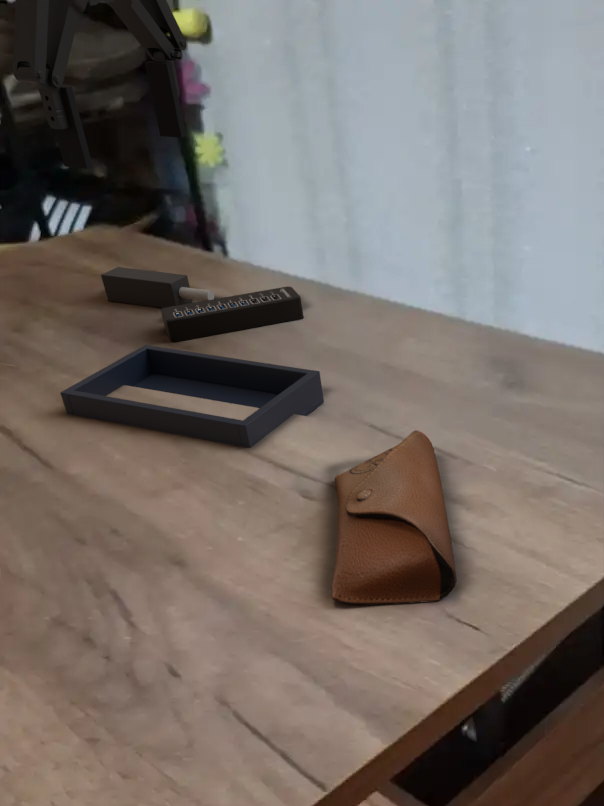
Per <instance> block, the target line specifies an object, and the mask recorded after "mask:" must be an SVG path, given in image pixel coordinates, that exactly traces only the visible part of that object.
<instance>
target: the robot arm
mask: <svg viewBox="0 0 604 806" xmlns="http://www.w3.org/2000/svg"><path fill="white" fill-rule="evenodd" d="M98 4H105V5H108V6H109V7H110V8H111V9H112V10H113V11H114V13H115V14H116V16H117V17H118V18H119V19H120V21H122V23H123V24H124V26H125V27H126V28H127V29H128V31H129V32H130V33H131V34H132V36H133V37H134V38H135V40H136V41H137V42H138V44H139V45H140V46H141V47H142V49H143V50H144V51H145V53H146V54H147V56H148V57H149V58H150V59H151V60H153V61H146V62H144V67H145V71H146V76H147V80H148V85H149V90H150V94H151V99H152V103H153V104H152V105H153V108H154V112H155V113H154V114H155V117H156V122H157V129H158V132H159V136H160V137H166V138H179V139H183V138H185V137H187V134H186V129H185V124H184V118H183V114H182V109H181V104H180V93H181V92H180V85H179V81H178V76H177V71H176V65H175V62H181V61H182V60H183V51H185V50H186V48H187V41H186V38H185V36H184V34H183V32H182V30H181V28H180V26H179V24H178V22H177V20H176V17H175V16H174V15H175V14H173V11H172V10H171V7H170V4H169V3H168V1H167V0H15V4H14V5H15V6H14V7H15V8H14V31H13V32H14V33H13V36H14V37H13V61H12V75H13V77H14V79H15V80H16V81H18V82H24V83H26V84H27V85H28V86H30V87H35V88H37V90H38V93H39V96H40V100H41V104H42V106H43V110H44V114H45V118H46V121H47V124H48V126H49V127H50V129H52V130H53V129H54V133H55V137H56V141H57V144H58V147H59V151H60V155H61V159H62V164H63V167H65V168H75V169H86V170H88V169H91V168H93V167H94V166H93V162H92V158H91V155H90V154H91V153H90V151H89V146H88V143H87V139H86V135H85V130H84V128H83V124H82V119H81V116H80V112H79V108H78V105H77V100H76V95H75V93H74V89H73V85H63V84H64V81H65V77H66V71H67V67H68V64H69V60H70V55H71V51H72V47H73V42H74V39H75V34H76V31H77V26H78V22H79V19H80V15H81V14H82V13H84V12H85V10H86V7H92V6H97V5H98ZM168 34H169V35H168Z"/></svg>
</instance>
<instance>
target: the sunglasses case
mask: <svg viewBox="0 0 604 806" xmlns="http://www.w3.org/2000/svg"><path fill="white" fill-rule="evenodd" d="M436 455H437V454H436V453H435V448H434V446H433V443H432V441H431V440H430V438H429V437H428V436H427V435H426V434H425V433H423V432H422V431H420V430H416V429H415V430H413V431H412V432H410V434H408V435H407V436H406V437H405V438H404V439H402V441H401V442H399V443H398V444H397V445H395V446H393V447H390V448H388V449H387V450H385V451H383V452H381V453H379V454H377V455H375V456H372V457H371V458H368V459H367V460H365V461H363V462H361V463H359V464H358V465H355V466H353V467H351V468H349V469H347V470H345V471H343V472H342V473H338V474H336V476H335V477H334V484H335V490H336V498H337V499H336V500H337V524H336V527H337V533H336V552H335V553H336V554H335V561H334V562H335V563H334V570H333V575H332V585H331V598H332V600H334V601H336V602H338V603H341V604H345V605H373V606H376V605H377V606H378V605H379V606H380V605H381V606H383V605H382V604H388V605H396V604H395V603H405V604H410V603H409V602H420V603H422V602H421V601H431V602H439V601H441V600H443V599H444V598H446V597H448V596H449V595H450V594H451V593H452V591H453V590H454V588H455V587H456V585H457V574H456V564H455V557H454V550H453V543H452V538H451V529H450V525H449V519H448V513H447V508H446V501H445V496H444V491H443V484H442V479H441V474H440V468H439V464H438V460H437V456H436Z"/></svg>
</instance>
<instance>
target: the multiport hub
mask: <svg viewBox="0 0 604 806" xmlns="http://www.w3.org/2000/svg"><path fill="white" fill-rule="evenodd" d="M160 314H161V319H162V322H163V326H164V330H165V332H166V334H167V337H168V338H169V340H170V342H172V343H178V342H183V341H188V340H193V339H194V340H195V339H199V338H205V337H209V336H215V335H222V334H226V333H232V332H237V331H243V330H248V329H255V328H259V327H264V326H271V325H275V324H276V325H277V324H281V323H285V322H292V321H298V320H302V319H304V309H303V304H302V297H301V295H300V294H299V293H298V292H297V291H296V290H295V289H294V288H293V287H292V286H282V287H277V288H270V289H264V290H258V291H253V292H247V293H242V294H241V293H240V294H236V295H230V296H224V297H218V298H214V299H212V300H206V301H200V300H199V301H196V302H195V301H194V302H191V303H189V304H183V305H177V306H171V307H166V308H160Z"/></svg>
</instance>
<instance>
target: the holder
mask: <svg viewBox="0 0 604 806" xmlns="http://www.w3.org/2000/svg"><path fill="white" fill-rule="evenodd" d="M322 385H323V384H322V377H321V372H320V370H314V369H306V368H301V367H293V366H287V365H281V364H273V363H266V362H260V361H255V360H248V359H240V358H234V357H227V356H222V355H214V354H208V353H201V352H195V351H188V350H181V349H175V348H169V347H162V346H155V345H151V344H144V345H142V346H141V347H139V348H137V349H135V350H133V351H131V352H130V353H128V354H126V355H124V356H123V357H121V358H119V359H117V360H116V361H114V362H112V363H111V364H108V365H106V366H105V367H103V368H101V369H99V370H98V371H96V372H94V373H92V374H91V375H89V376H87V377H86V378H83V379H82V380H80V381H78V382H76V383H75V384H72V385H71V386H69V387H68V388H66V389H64V390H62V391H60V392H59V393H60V396H61V399H62V402H63V403H62V404H63V406H64V409H65V412H66V414H67V415H74V416H78V417H83V418H88V419H93V420H100V421H105V422H110V423H114V424H115V423H116V424H120V425H125V426H130V427H131V426H132V427H135V428H136V427H137V428H143V429H147V430H151V431H157V432H164V433H168V434H174V435H179V436H185V437H189V438H194V439H200V440H204V441H205V440H206V441H211V442H217V443H221V444H226V445H233V446H236V447H242V448H248V449H251V448H252V447H253V446H255V445H256V444H258V443H260V441H262V440H263V439H264V438H265V437H267V436H268V435H269V434H270V433H272V432H273V431H274V430H276V429H277V428H278V427H279V426H281V425H282V424H283V423H285V422H286V421H288V419H290V418H291V417H292V416H294V415H296V416H297V415H298V416H303V417H307V416H308V415H310V414H311V413H312V412H313V411H315V410H316V409H317V408H319V407H320V406H321V405H322V404H324V403H325V399H324V393H323V386H322ZM123 386H128V387H133V388H138V389H139V388H140V389H145V390H152V391H157V392H162V393H169V394H173V395H174V394H175V395H180V396H186V397H191V398H192V397H193V398H197V399H204V400H209V401H215V402H220V403H227V404H231V405H232V404H233V405H237V406H238V405H239V406H245V407H250V408H256V409H257V410H255V411H254V412H253V413H251V414H250V415H249V416H247V417H246V418H244V419H236V418H231V417H226V416H220V415H214V414H208V413H204V412H198V411H193V410H188V409H187V410H186V409H181V408H175V407H169V406H163V405H160V404H159V405H158V404H153V403H147V402H141V401H135V400H130V399H124V398H119V397H114V396H113V397H112V396H108V395H110V394H111V393H113V392H115V391H116V390H118V389H120V388H122V387H123Z"/></svg>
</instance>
